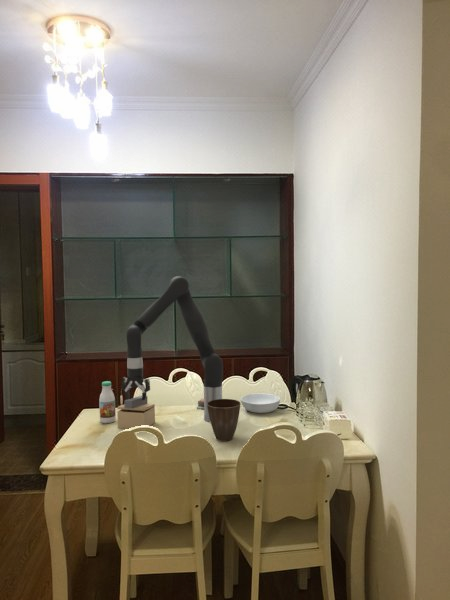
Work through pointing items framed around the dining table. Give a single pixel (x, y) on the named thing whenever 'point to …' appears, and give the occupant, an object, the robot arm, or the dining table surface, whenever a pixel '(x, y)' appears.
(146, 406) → the lid
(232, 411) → the plant pot
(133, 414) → the box
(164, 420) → the dining table surface
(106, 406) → the milk bottle
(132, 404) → the grey rectangular bar
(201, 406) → the packaged product
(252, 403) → the serving bowl
